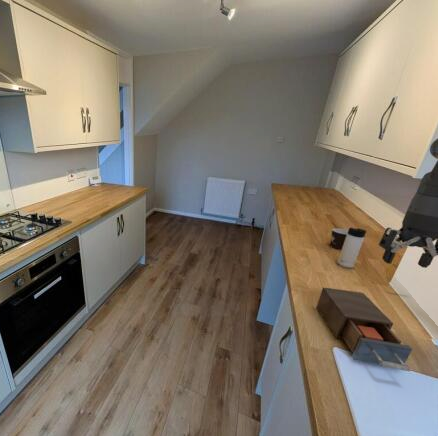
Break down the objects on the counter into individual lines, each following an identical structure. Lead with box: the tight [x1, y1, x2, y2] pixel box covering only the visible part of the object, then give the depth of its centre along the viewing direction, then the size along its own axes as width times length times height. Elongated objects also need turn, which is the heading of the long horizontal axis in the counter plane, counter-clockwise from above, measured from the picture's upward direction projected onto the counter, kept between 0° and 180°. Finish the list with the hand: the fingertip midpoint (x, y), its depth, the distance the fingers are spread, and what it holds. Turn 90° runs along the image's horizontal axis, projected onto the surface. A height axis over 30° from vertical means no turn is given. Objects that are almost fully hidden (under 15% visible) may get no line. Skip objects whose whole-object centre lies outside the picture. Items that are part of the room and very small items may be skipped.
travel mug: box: [336, 227, 367, 270], centre depth 114 cm, size 6×7×20 cm
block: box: [356, 325, 384, 341], centre depth 71 cm, size 4×4×4 cm
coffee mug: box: [329, 227, 348, 251], centre depth 133 cm, size 12×9×10 cm
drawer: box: [341, 319, 413, 372], centre depth 69 cm, size 18×11×7 cm, turn 167°
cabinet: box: [316, 286, 394, 341], centre depth 79 cm, size 15×13×9 cm
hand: (404, 264), depth 69 cm, fingers open, 8 cm apart
